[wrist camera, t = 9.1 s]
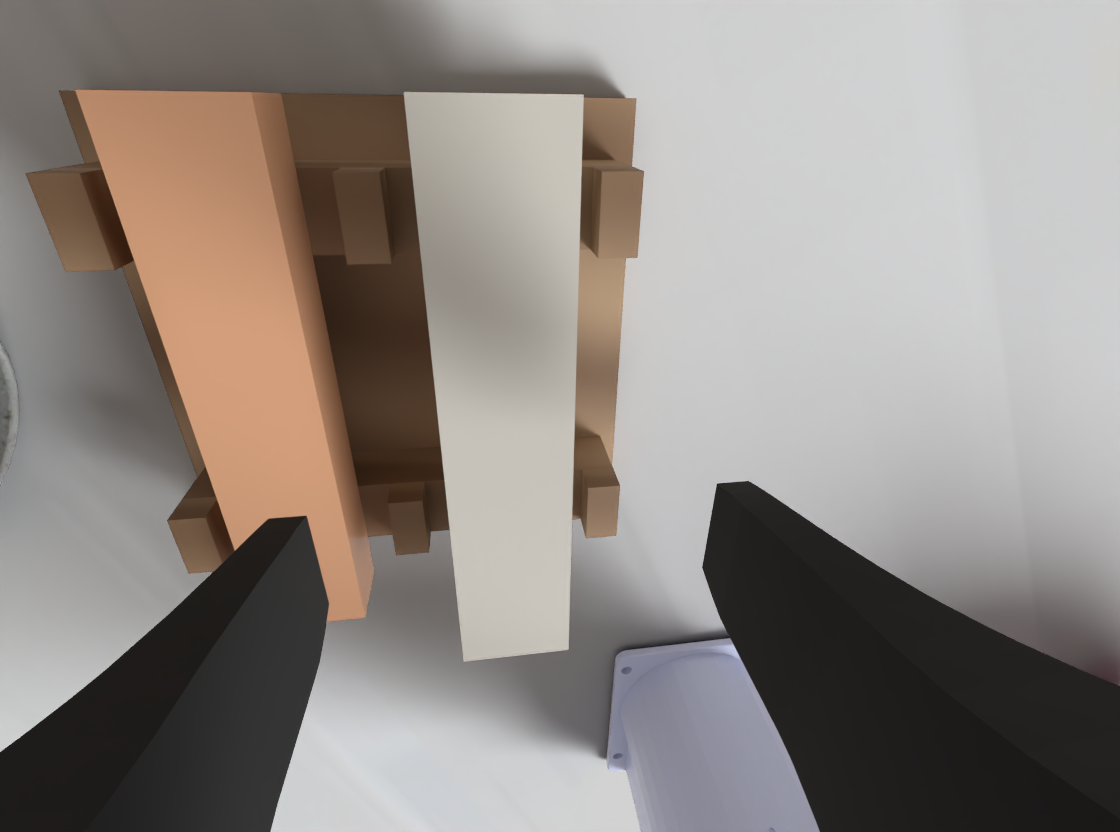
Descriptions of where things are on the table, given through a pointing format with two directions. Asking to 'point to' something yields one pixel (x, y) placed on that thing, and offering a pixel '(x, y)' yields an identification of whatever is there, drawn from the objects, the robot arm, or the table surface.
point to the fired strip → (239, 310)
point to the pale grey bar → (503, 349)
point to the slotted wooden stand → (384, 305)
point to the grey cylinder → (7, 411)
